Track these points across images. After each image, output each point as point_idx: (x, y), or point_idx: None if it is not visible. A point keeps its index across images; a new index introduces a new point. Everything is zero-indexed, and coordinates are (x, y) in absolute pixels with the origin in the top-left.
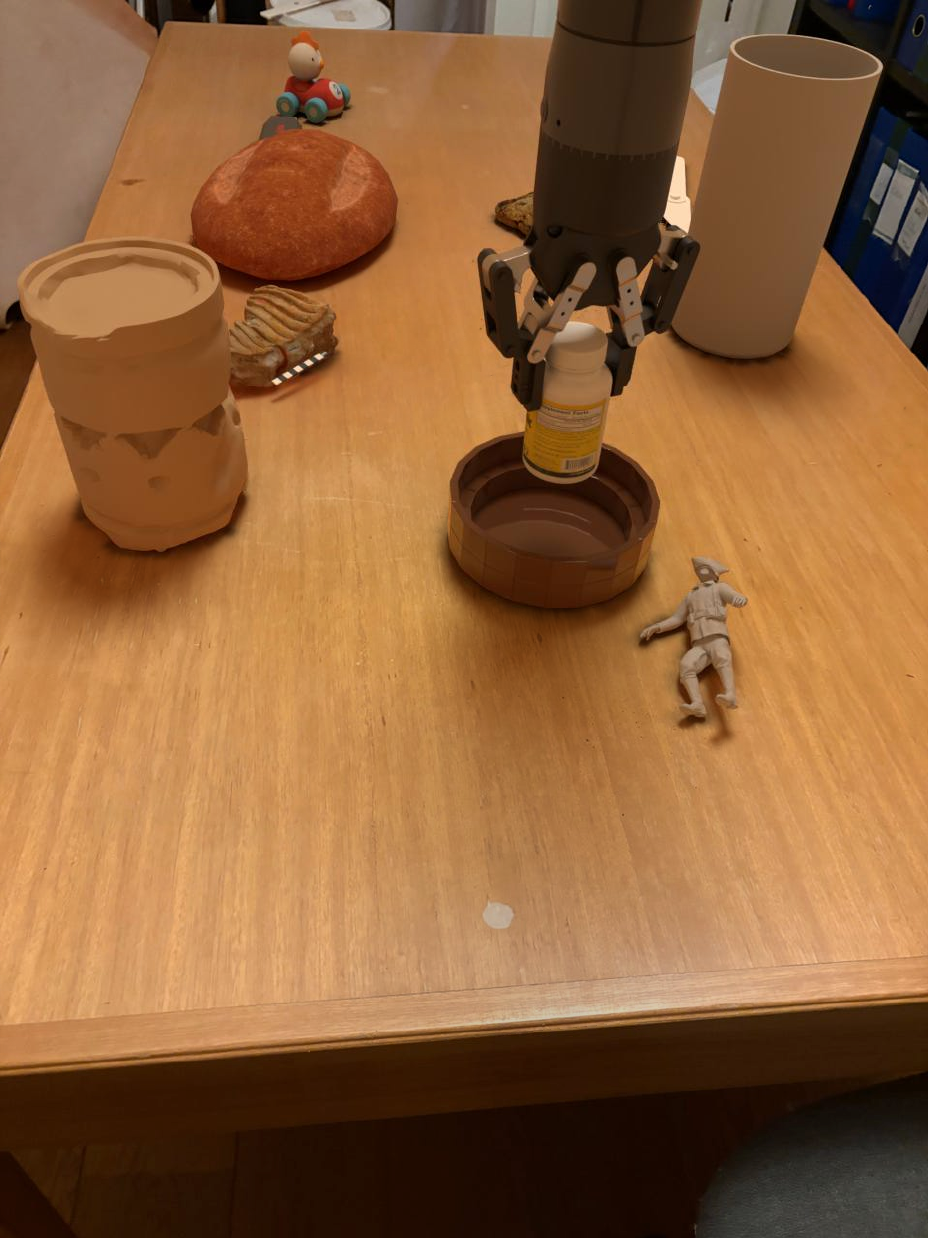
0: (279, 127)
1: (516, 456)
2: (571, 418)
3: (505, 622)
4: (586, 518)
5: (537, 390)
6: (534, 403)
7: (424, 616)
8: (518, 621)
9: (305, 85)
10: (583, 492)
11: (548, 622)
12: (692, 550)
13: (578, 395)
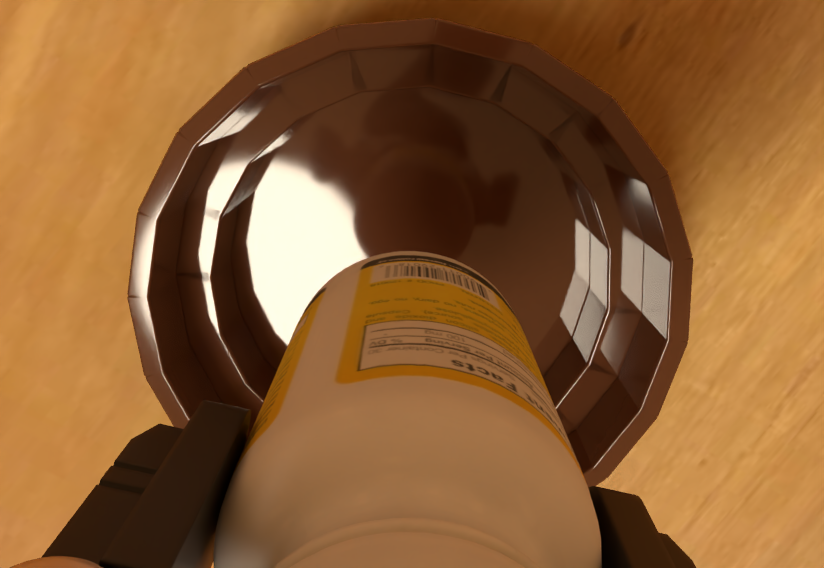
0: None
1: None
2: (514, 379)
3: (653, 118)
4: (293, 274)
5: (652, 554)
6: (634, 511)
7: (774, 226)
8: (629, 104)
9: None
10: (249, 340)
11: (577, 64)
12: (123, 62)
13: (512, 434)
